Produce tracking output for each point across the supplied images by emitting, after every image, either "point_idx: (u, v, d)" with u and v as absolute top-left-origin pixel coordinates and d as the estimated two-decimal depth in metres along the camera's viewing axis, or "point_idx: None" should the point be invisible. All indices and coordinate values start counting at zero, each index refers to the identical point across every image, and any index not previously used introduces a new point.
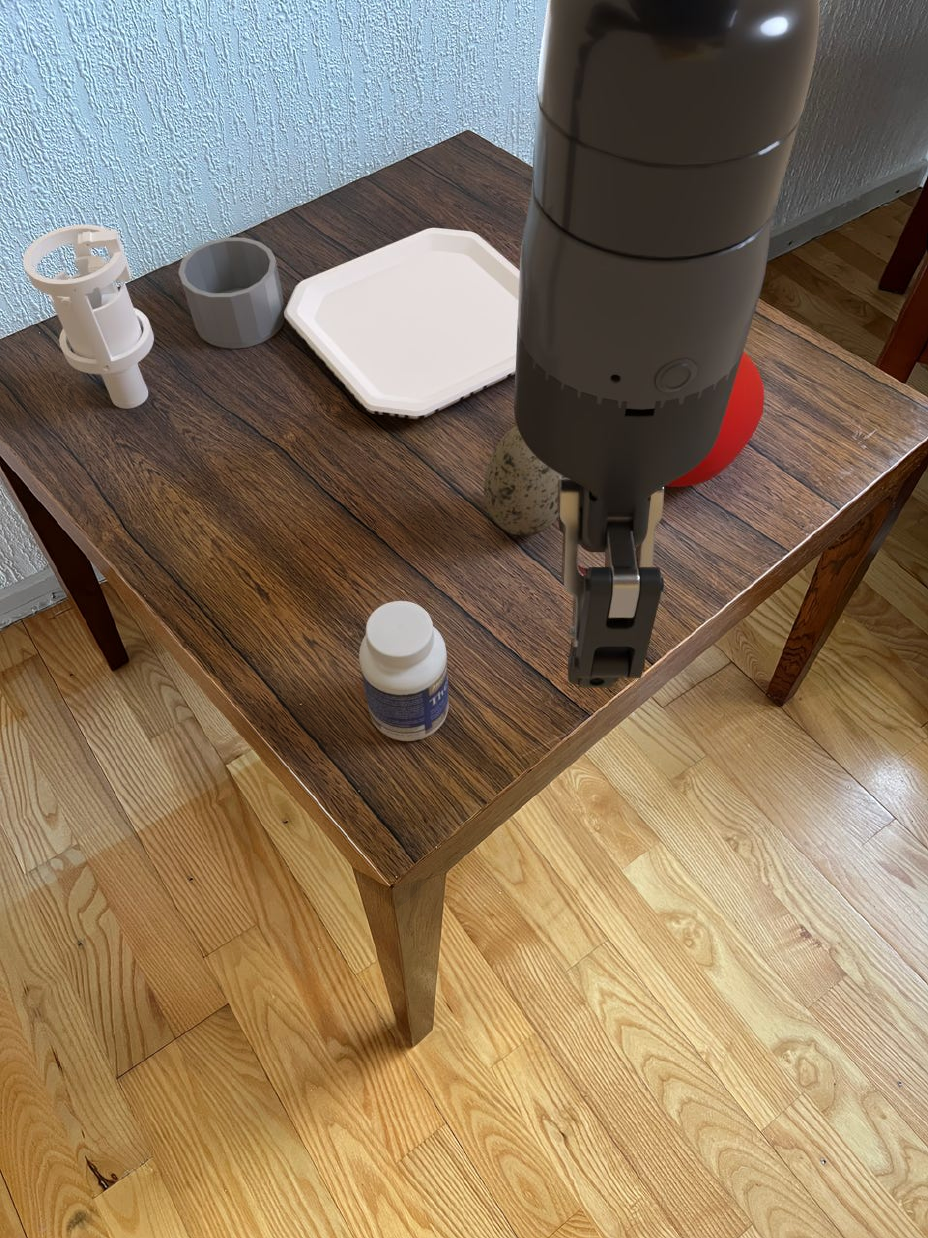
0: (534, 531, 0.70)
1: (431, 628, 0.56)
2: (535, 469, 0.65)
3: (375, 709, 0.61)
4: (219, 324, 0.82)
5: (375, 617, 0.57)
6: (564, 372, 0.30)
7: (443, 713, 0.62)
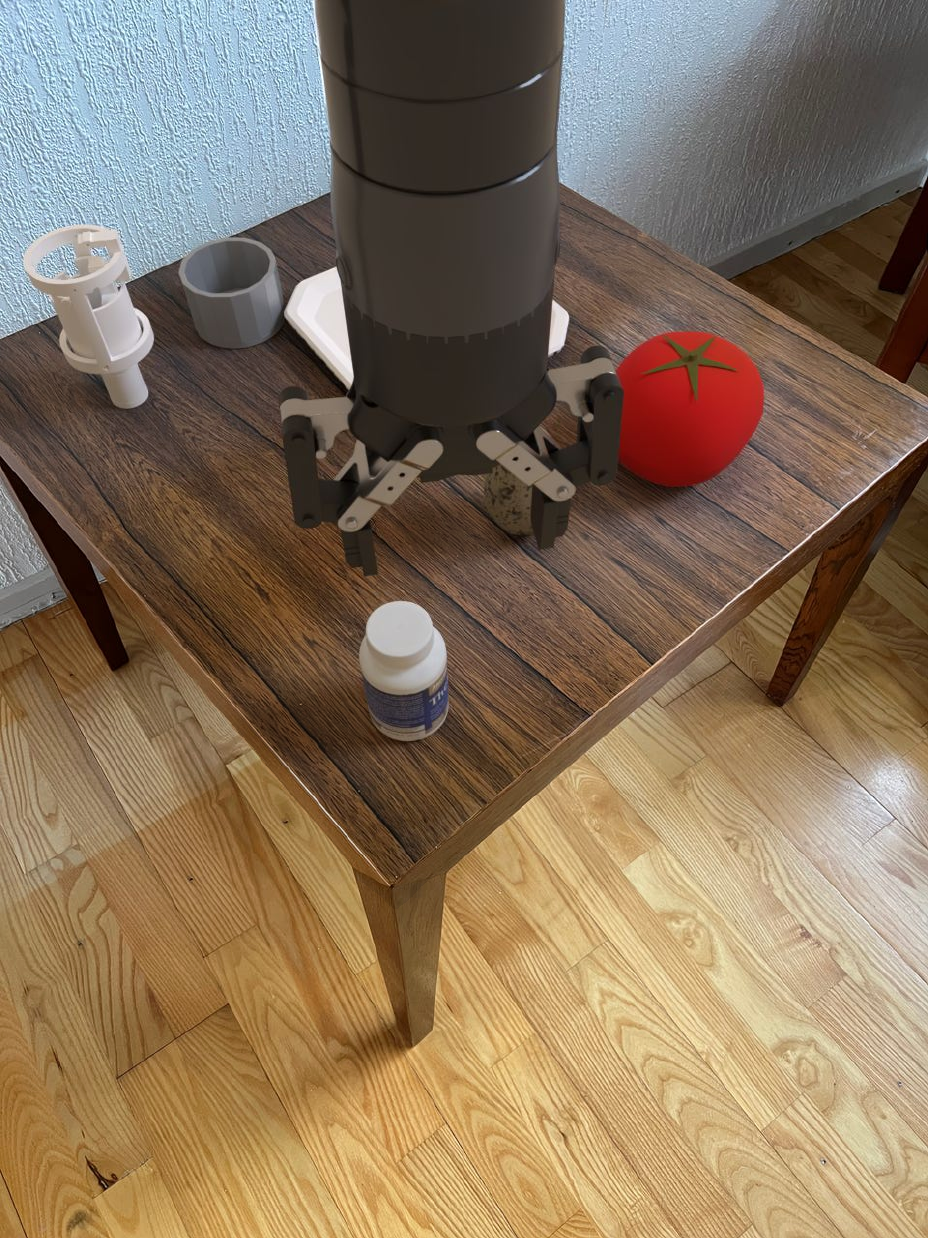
0: None
1: (431, 628, 0.56)
2: None
3: (375, 709, 0.61)
4: (219, 324, 0.82)
5: (375, 617, 0.57)
6: None
7: (443, 713, 0.62)
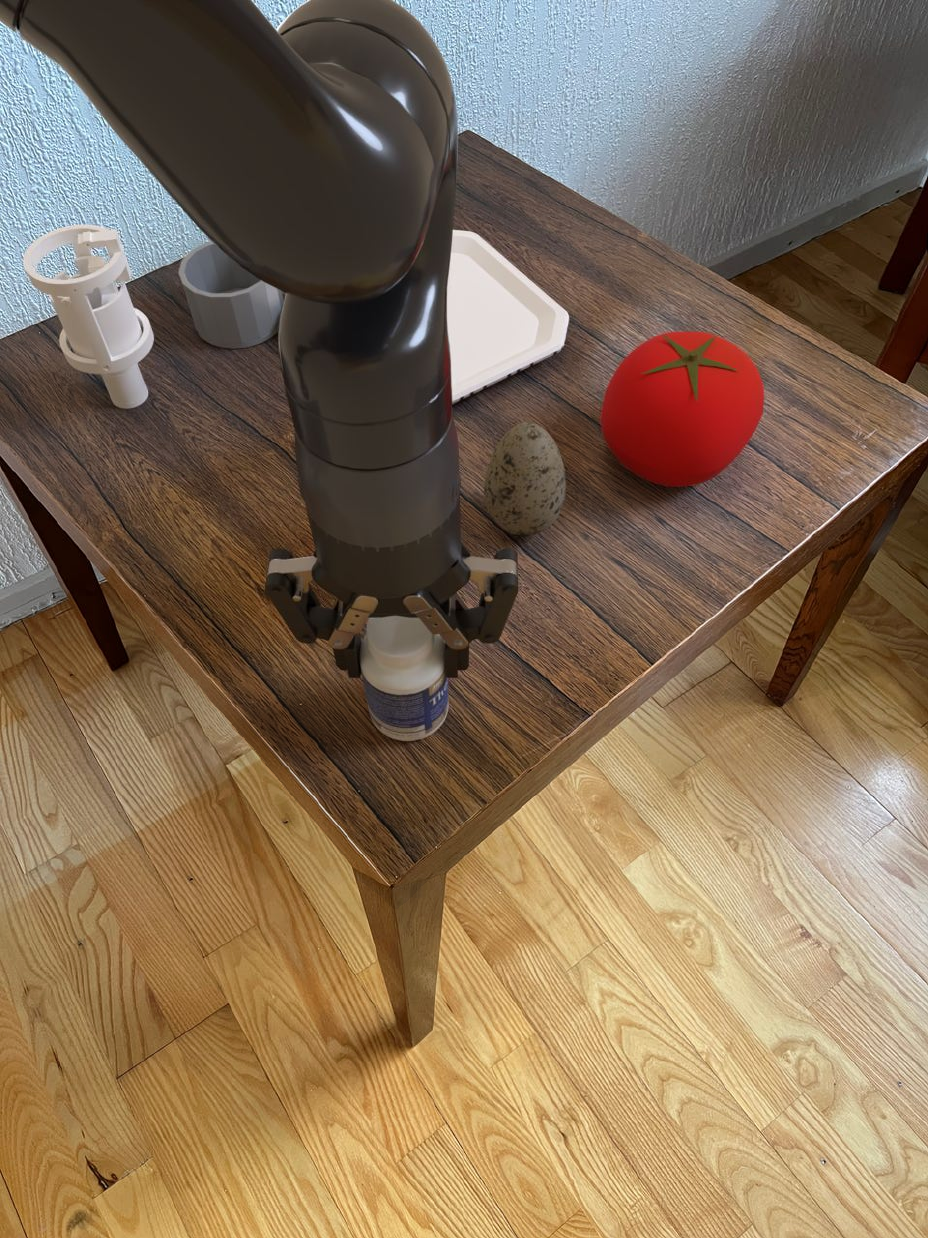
0: (534, 531, 0.70)
1: None
2: (535, 469, 0.65)
3: (375, 709, 0.61)
4: (219, 324, 0.82)
5: None
6: None
7: (443, 713, 0.62)
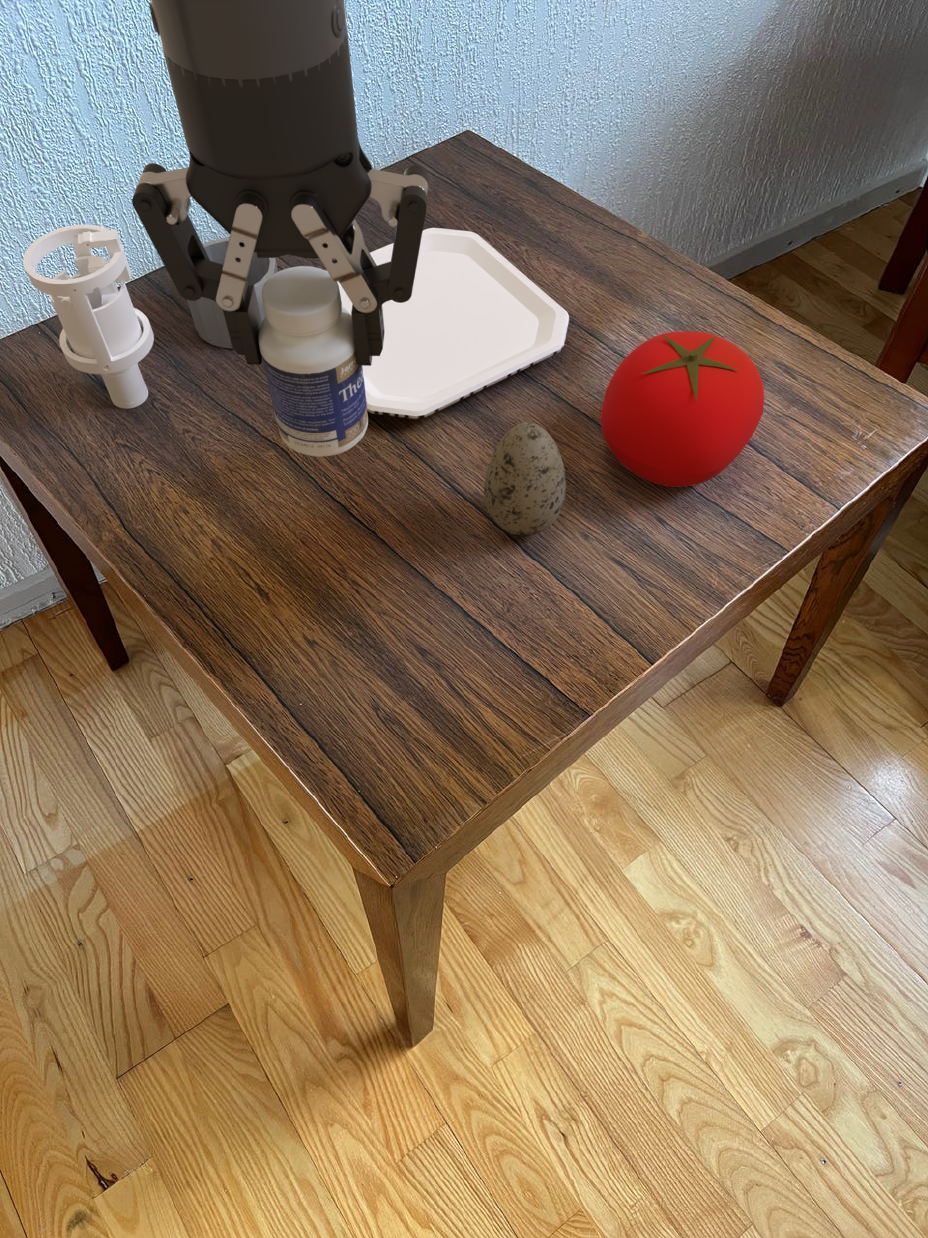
0: (534, 531, 0.70)
1: (337, 290, 0.49)
2: (535, 469, 0.65)
3: (279, 408, 0.53)
4: (219, 324, 0.82)
5: (274, 279, 0.49)
6: None
7: (359, 424, 0.55)
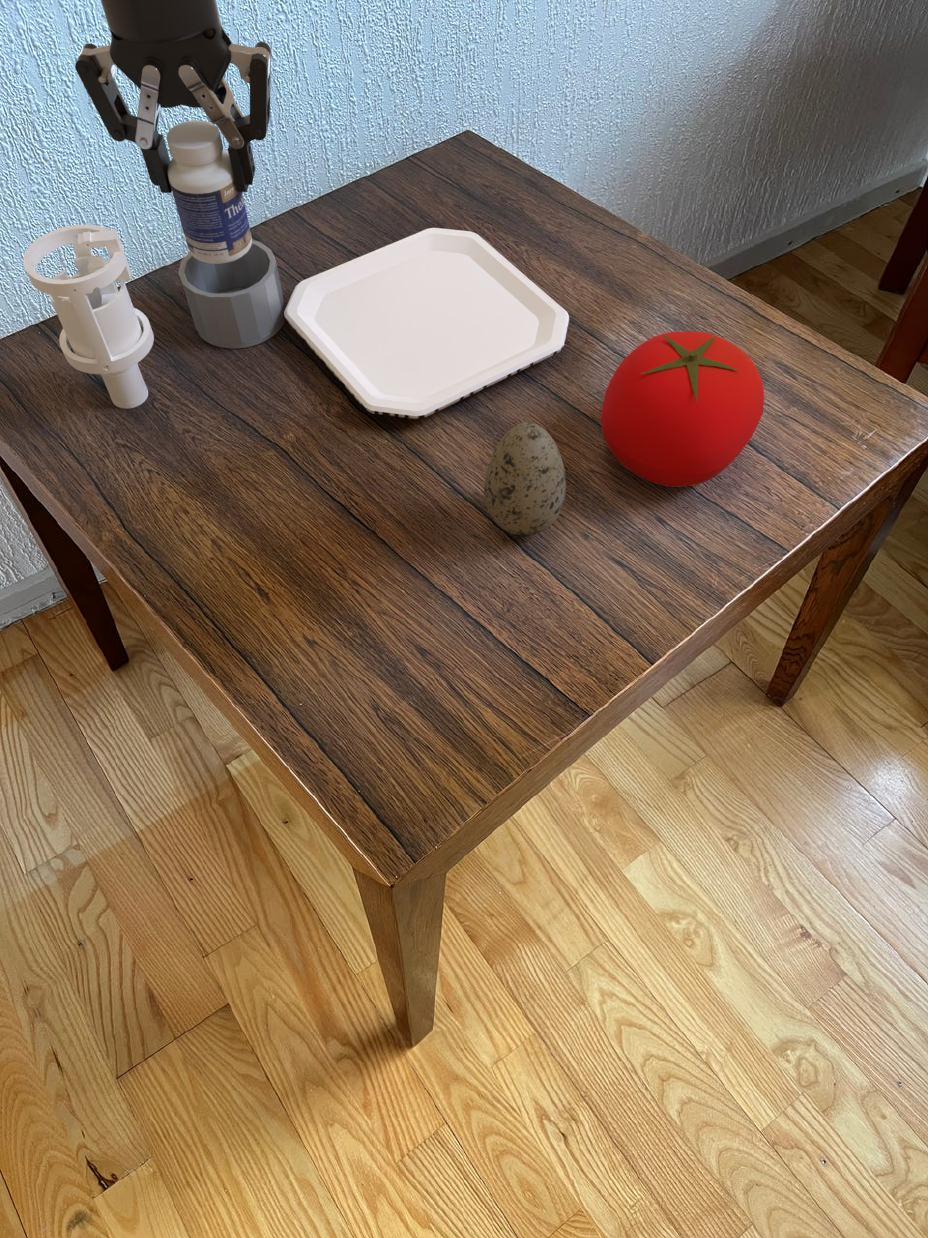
0: (534, 531, 0.70)
1: (217, 133, 0.73)
2: (535, 469, 0.65)
3: (185, 225, 0.77)
4: (219, 324, 0.82)
5: (175, 128, 0.73)
6: None
7: (243, 239, 0.79)
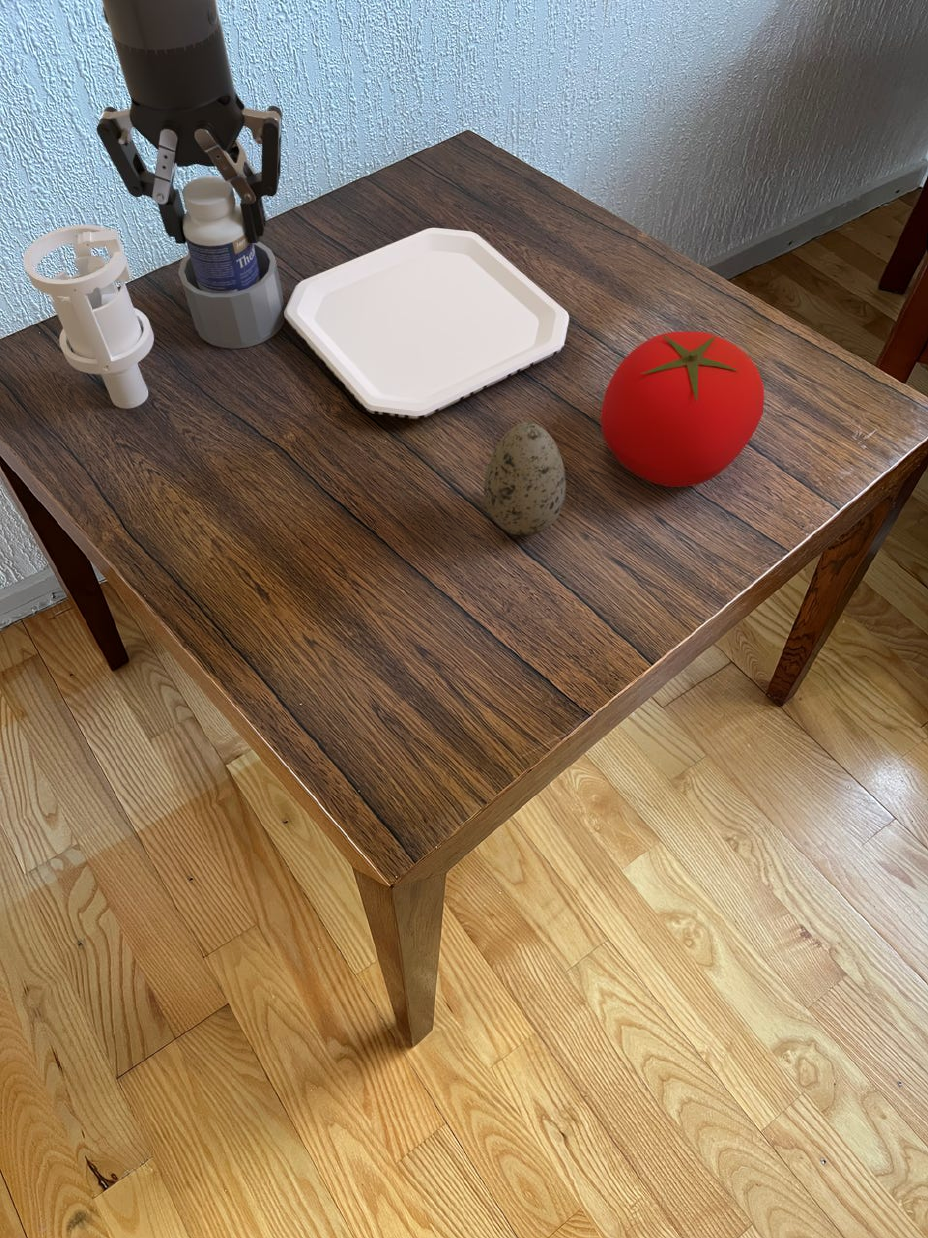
0: (534, 531, 0.70)
1: (230, 189, 0.76)
2: (535, 469, 0.65)
3: (199, 274, 0.81)
4: (219, 324, 0.82)
5: (190, 184, 0.77)
6: None
7: None
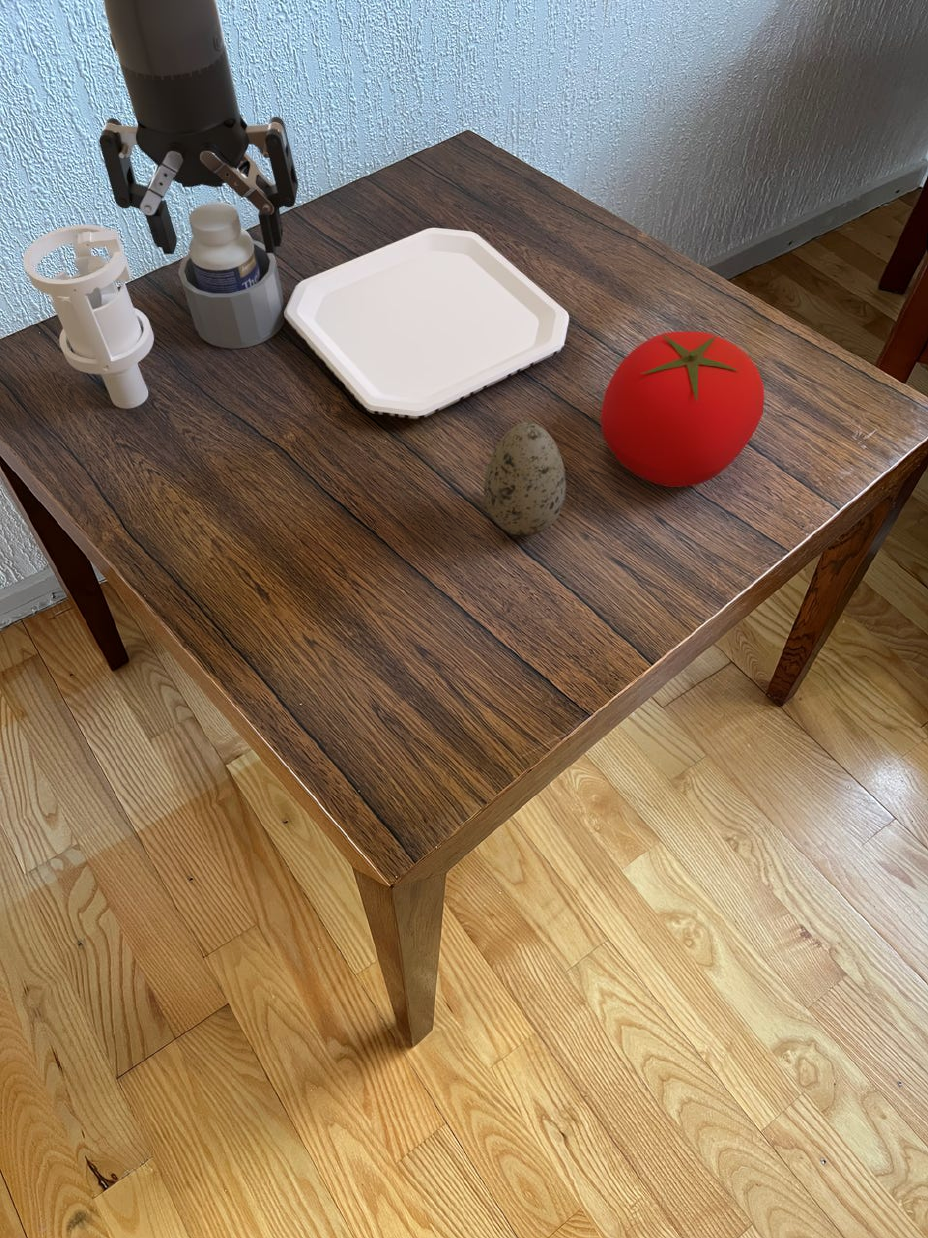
0: (534, 531, 0.70)
1: (236, 215, 0.78)
2: (535, 469, 0.65)
3: None
4: (219, 324, 0.82)
5: (197, 210, 0.79)
6: None
7: None
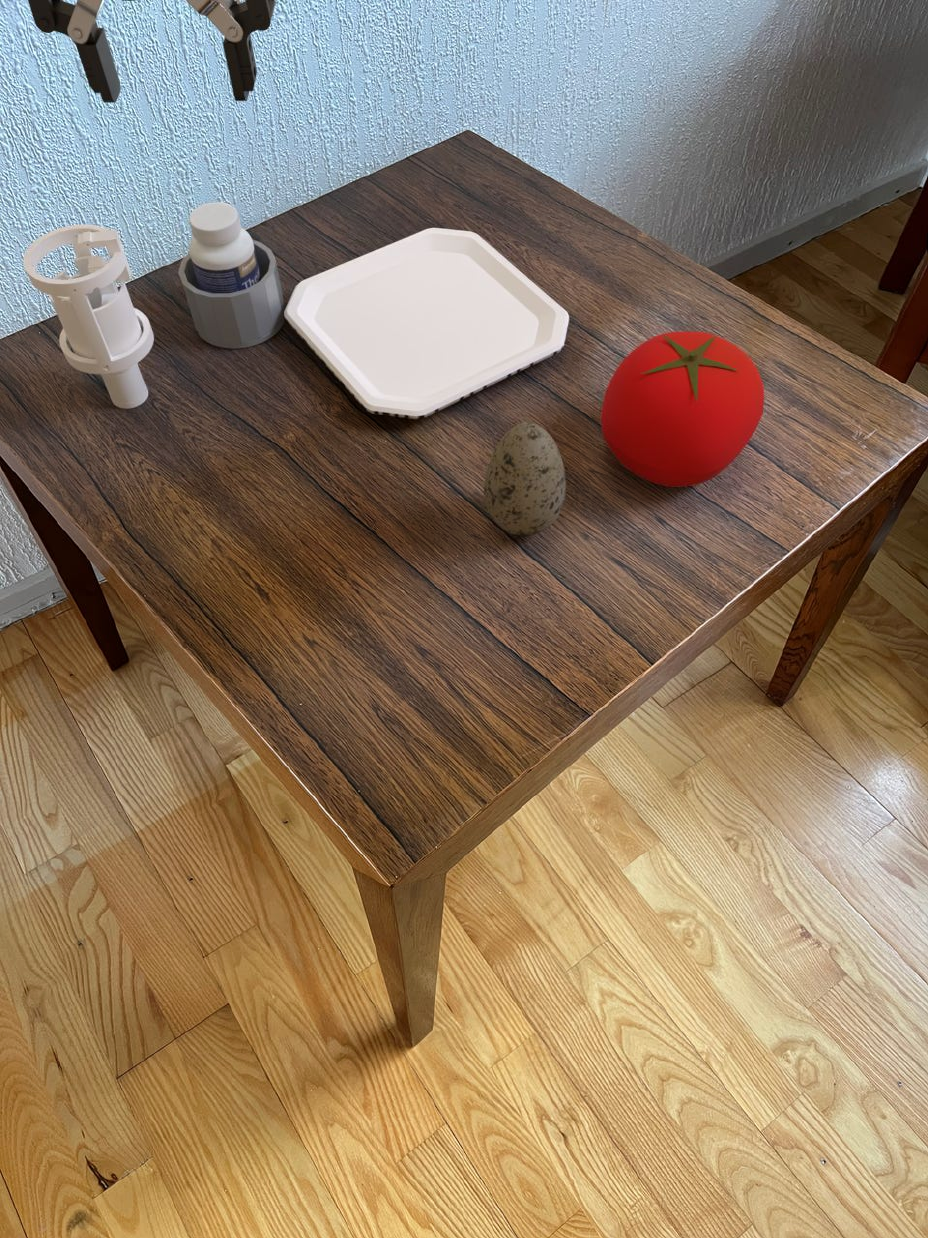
0: (534, 531, 0.70)
1: (236, 215, 0.78)
2: (535, 469, 0.65)
3: None
4: (219, 324, 0.82)
5: (197, 210, 0.79)
6: None
7: None
